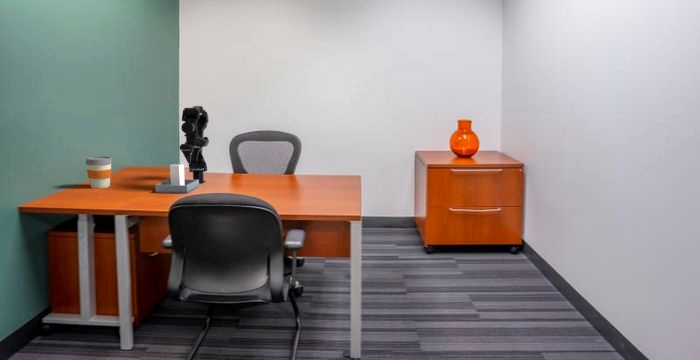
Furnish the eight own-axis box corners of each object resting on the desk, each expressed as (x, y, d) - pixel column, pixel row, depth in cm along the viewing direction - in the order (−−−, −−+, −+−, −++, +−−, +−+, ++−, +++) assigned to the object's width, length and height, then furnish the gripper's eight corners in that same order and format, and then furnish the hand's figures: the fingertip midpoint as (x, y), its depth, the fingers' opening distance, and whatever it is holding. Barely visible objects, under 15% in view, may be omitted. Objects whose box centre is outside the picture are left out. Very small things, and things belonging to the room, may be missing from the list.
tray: (169, 186, 321) (168, 178, 320) (199, 187, 319) (198, 179, 319) (155, 192, 303) (155, 184, 302) (187, 193, 302) (186, 185, 301)
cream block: (175, 186, 314) (174, 163, 312) (184, 187, 313) (183, 164, 311) (170, 188, 309) (169, 165, 307) (180, 189, 308) (179, 165, 306)
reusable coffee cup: (112, 188, 314) (110, 159, 312) (86, 189, 311) (84, 160, 308) (113, 184, 326) (112, 156, 324) (88, 185, 322) (86, 156, 320)
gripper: (200, 133, 305) (201, 164, 307) (212, 131, 323) (213, 160, 326) (178, 133, 306) (179, 164, 308) (192, 130, 324) (193, 160, 327)
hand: (192, 162), depth 317 cm, fingers open, 9 cm apart
